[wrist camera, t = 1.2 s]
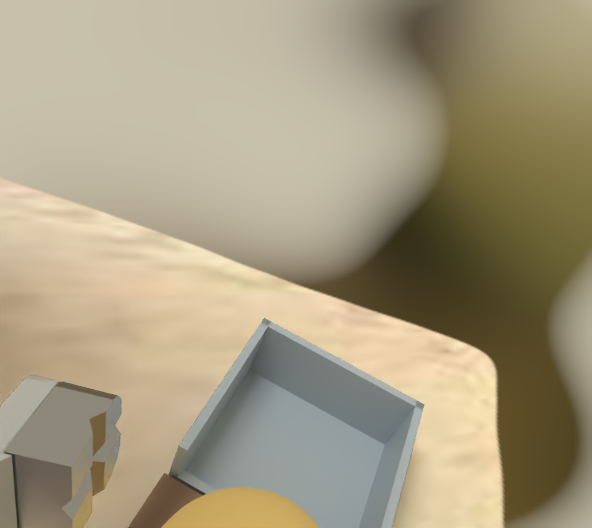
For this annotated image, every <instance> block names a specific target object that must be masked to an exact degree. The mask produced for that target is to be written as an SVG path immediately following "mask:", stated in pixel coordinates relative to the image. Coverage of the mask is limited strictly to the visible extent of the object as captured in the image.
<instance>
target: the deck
mask: <svg viewBox="0 0 592 528" xmlns="http://www.w3.org/2000/svg"><path fill="white" fill-rule="evenodd" d="M201 496H203V495H201V494H199V493H198V492H196V491H194V490H192V489H191V488H189V487H187V486H186V485H184V484H182V483H180V482H179V481H177V480H175V479H174V478H172V477H170V476H168V475H167V474H165V473H164V474H163V476H162V477H161V479H160V480H159V482H158V484H157V485H156V487H155V488H154V490H153V491H152V493H151V494H150V496H149V497H148V499H147V500H146V502H145V503H144V505H143V506H142V508H141V509H140V511H139V512H138V514H137V515H136V517H135V518H134V520H133V521H132V523H131V524H130V526H129V527H128V528H161V527H162V526H163V525H164V524H165V523H166V522H167V521H168V520H169V519H170V518H171V517H172V516H173V515H174V514H175V513H176V512H178V511H179V510H180V509H181V508H182V507H184V506H185V505H187V504H188V503H190V502H191V501H193V500H195V499H197V498H199V497H201Z"/></svg>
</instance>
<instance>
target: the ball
mask: <svg viewBox="0 0 592 528" xmlns="http://www.w3.org/2000/svg"><path fill="white" fill-rule="evenodd" d="M161 528H319V526H318V525H317V524H316V522H315V521H314V520H313V519H312V518H311V517H310V516H309V515H308V514H307V513H306V512H305V511H304V510H303V509H301V508H300V507H299V506H298V505H296V504H295V503H293V502H292V501H290V500H289V499H287V498H285V497H283V496H281V495H279V494H277V493H274V492H271V491H268V490H264V489H259V488H251V487H231V488H225V489H220V490H217V491H214V492H210V493H208V494H205V495H203V496H201V497H199V498H197V499H195V500H193V501H191V502H190V503H188V504H187V505H185V506H184V507H182V508H181V509H180V510H179V511H178V512H176V513H175V514H174V515H173V516H172V517H171V518H170V519H169V520H168V521H167V522H166V523H165V524H164V525H163V526H162V527H161Z"/></svg>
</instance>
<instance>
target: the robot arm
mask: <svg viewBox="0 0 592 528" xmlns="http://www.w3.org/2000/svg"><path fill="white" fill-rule="evenodd" d="M120 415H121V398H120V397H119V396H117V395H113V394H109V393H105V392H101V391H97V390H94V389H90V388H86V387H82V386H78V385H74V384H70V383H66V382H59V381H55V380H52V379H48V378H44V377H40V376H36V375H31V376H30V377H28V378H26V379H24V380H23V381H22V382H21V383H20V385H19V386H18V387H17V388H16V389H15V390H14V391H13V393H12V394H11V395H10V396H9V397H8V398H7V400H6V401H5V402H4V403H3V404H2V405H1V406H0V528H84V526H85V524H86V522H87V520H88V518H89V517H90V515H91V513H92V496H94V495H95V494H97V493H99V492H100V491H102V490H104V488H105V486H106V484H107V482H108V480H109V478H110V476H111V473H112V471H113V468H114V465H115V462H116V459H117V456H118V450H119V445H120V432H119V431H118V429H117V428H116V426H115V424H116V422H117V420H118V419H119V417H120Z"/></svg>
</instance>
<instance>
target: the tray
mask: <svg viewBox="0 0 592 528" xmlns="http://www.w3.org/2000/svg"><path fill="white" fill-rule="evenodd" d="M423 407H424V404H422V403H420V402H419V401H417V400H415V399H413V398H411V397H409V396H407V395H406V394H404V393H402V392H400V391H398V390H396V389H395V388H393V387H391V386H389V385H387V384H385V383H383V382H382V381H380V380H378V379H376V378H374V377H372V376H371V375H369V374H367V373H365V372H363V371H361V370H359V369H358V368H356V367H354V366H352V365H350V364H348V363H346V362H345V361H343V360H341V359H339V358H337V357H335V356H334V355H332V354H330V353H328V352H326V351H324V350H322V349H321V348H319V347H317V346H315V345H313V344H311V343H310V342H308V341H306V340H304V339H302V338H300V337H298V336H297V335H295V334H293V333H291V332H289V331H287V330H286V329H284V328H282V327H280V326H278V325H276V324H274V323H273V322H271V321H269V320H267V319H265V318H264V319H263V321H262V322H261V324H260V325H259V327H258V328H257V330H256V331H255V333H254V334H253V336H252V337H251V339H250V340H249V342H248V343H247V345H246V346H245V348H244V349H243V351H242V352H241V354H240V355H239V357H238V358H237V360H236V361H235V363H234V364H233V366H232V367H231V369H230V370H229V371H228V373H227V374H226V376H225V377H224V379H223V380H222V382H221V383H220V385H219V386H218V388H217V389H216V391H215V392H214V394H213V395H212V397H211V398H210V400H209V401H208V403H207V404H206V406H205V407H204V409H203V410H202V412H201V413H200V415H199V416H198V418H197V419H196V421H195V422H194V424H193V425H192V427H191V428H190V430H189V431H188V433H187V434H186V436H185V437H184V439H183V440H182V442H181V443H180V445H179V446H178V449H177V452H176V455H175V458H174V461H173V464H172V467H171V470H170V473H169V475H168V476H170V477H172V478H174V479H175V480H177V481H179V482H180V483H182V484H184V485H186V486H187V487H189V488H191V489H192V490H194V491H196V492H198V493H199V494H201V495H205V494H208V493H210V492H214V491H217V490H220V489H225V488H231V487H251V488H259V489H264V490H268V491H271V492H274V493H277V494H279V495H281V496H283V497H285V498H287V499H289V500H290V501H292V502H293V503H295V504H296V505H298V506H299V507H300V508H301V509H303V510H304V511H305V512H306V513H307V514H308V515H309V516H310V517H311V518H312V519H313V520H314V521H315V522H316V524H317V525H318V526H319V528H392V524H393V521H394V517H395V513H396V509H397V506H398V502H399V498H400V494H401V490H402V487H403V483H404V479H405V475H406V472H407V468H408V464H409V460H410V456H411V453H412V449H413V445H414V441H415V438H416V434H417V430H418V426H419V422H420V419H421V415H422V411H423Z"/></svg>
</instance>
